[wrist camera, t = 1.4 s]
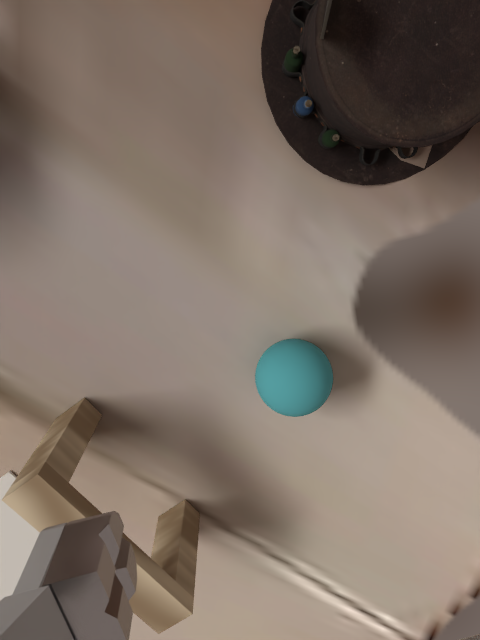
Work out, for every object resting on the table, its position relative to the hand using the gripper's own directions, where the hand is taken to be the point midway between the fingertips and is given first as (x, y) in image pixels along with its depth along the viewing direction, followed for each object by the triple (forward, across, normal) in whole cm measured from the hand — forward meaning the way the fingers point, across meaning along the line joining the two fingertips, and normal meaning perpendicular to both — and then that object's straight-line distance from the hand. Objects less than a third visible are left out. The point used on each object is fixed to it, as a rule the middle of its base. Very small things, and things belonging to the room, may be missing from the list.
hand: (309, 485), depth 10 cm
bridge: (+25, +12, +14) cm, 31 cm away
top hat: (+23, -12, -11) cm, 28 cm away
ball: (+21, -3, +8) cm, 22 cm away
